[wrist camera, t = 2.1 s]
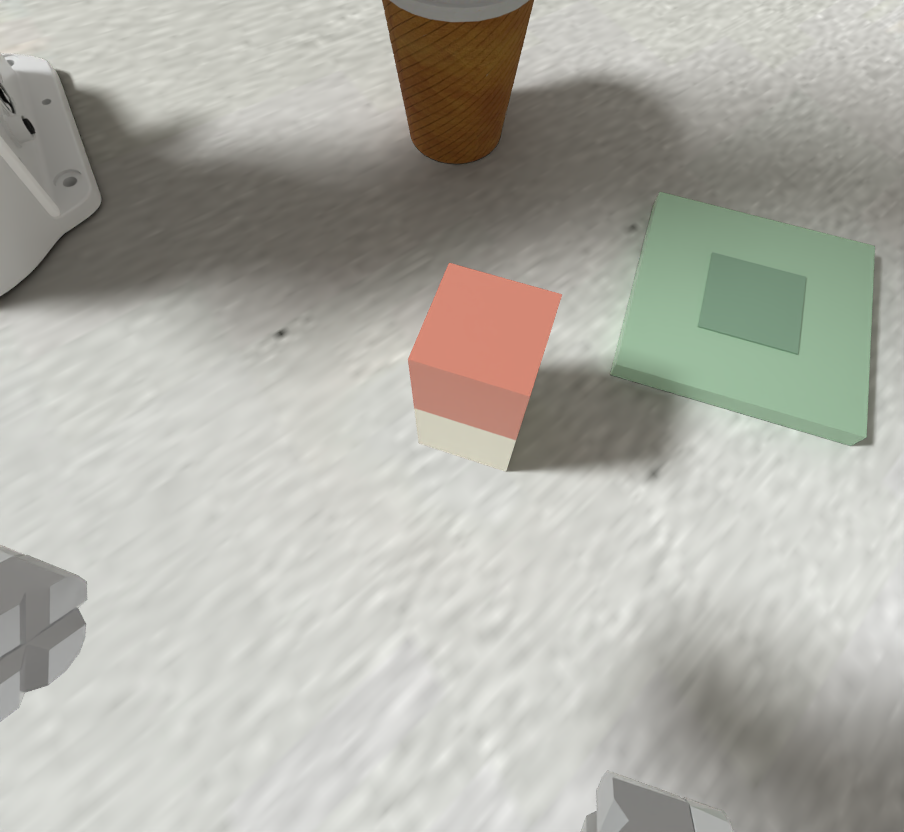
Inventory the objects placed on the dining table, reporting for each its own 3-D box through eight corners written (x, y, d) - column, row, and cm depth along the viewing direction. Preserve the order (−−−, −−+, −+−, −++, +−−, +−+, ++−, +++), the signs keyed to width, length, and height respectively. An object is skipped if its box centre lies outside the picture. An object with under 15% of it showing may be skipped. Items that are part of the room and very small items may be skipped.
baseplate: (610, 374, 31) (616, 363, 30) (653, 205, 36) (660, 190, 35) (850, 445, 29) (868, 436, 28) (861, 259, 34) (876, 244, 33)
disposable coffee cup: (517, 82, 40) (544, -132, 29) (530, 181, 37) (566, -23, 26) (386, 85, 40) (364, -130, 29) (386, 184, 36) (360, -20, 25)
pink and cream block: (418, 443, 29) (407, 359, 21) (448, 367, 31) (449, 262, 23) (505, 471, 29) (530, 396, 20) (530, 392, 31) (562, 294, 22)
